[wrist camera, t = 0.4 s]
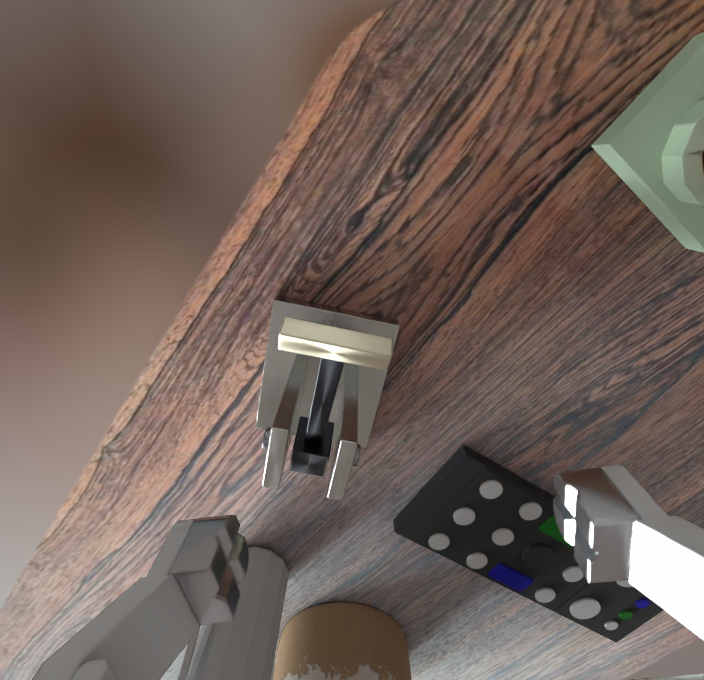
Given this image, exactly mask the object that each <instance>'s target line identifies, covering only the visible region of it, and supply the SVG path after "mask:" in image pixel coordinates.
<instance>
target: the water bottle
mask: <svg viewBox="0 0 704 680" xmlns="http://www.w3.org/2000/svg"><path fill="white" fill-rule="evenodd" d="M248 550H249V563H248V569H247V573H246V577H245V578H244V579H243V580H242V581H241V582H240V584H239V585H238V588H239V591H240V593H241V595H240V598H239V602H238V605H237V609H236V613H235V616H234V620H233V621H227V622H220V623H213V624H206V625H202V628H201V631H200V634H199V630H200V628H199V629H198V631H197V632H196V633H195V634H194V636H193V637H192V638H191V640H190V641H189V643H188V646H187V650H186V653H185V657H184V660H183V664H182V668H181V671H180V675H179V678H178V680H270V679H271V674H272V668H273V662H274V656H275V651H276V645H277V639H278V633H279V628H280V622H281V616H282V611H283V605H284V599H285V593H286V588H287V582H288V576H289V573H288V571H287V568H286V566H285V563H284V561H283V559H282V558H281V557H279V556H278V555H277V554H275V553H274V552H273V551H271V550H268V549H264V548H260V547H255V546H254V547H249V548H248ZM199 626H201V625H199ZM198 634H199V637H198ZM197 637H198V640H197ZM196 641H197V642H196Z"/></svg>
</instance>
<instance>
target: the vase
mask: <svg viewBox="0 0 704 680" xmlns="http://www.w3.org/2000/svg"><path fill="white" fill-rule="evenodd" d="M273 680H411V672H410V662H409V653H408V645H407V640H406V636H405V634H404V632H403V630H402V628H401V627H400V625H399V624H398V623H397V622H396V621H395V620H394V619H393V618H391V617H390V616H389V615H387V614H386V613H384V612H382V611H380V610H378V609H375V608H373V607H370V606H366V605H362V604H357V603H349V602H334V603H326V604H321V605H317V606H313V607H311V608H308V609H306V610H304V611H302V612H300V613H298V614H297V615H296V616H294V617H293V618H292V619H291V620H290V621H289V622H288V623H287V625H286V626H285V628H284V630H283V632H282V635H281V638H280V642H279V647H278V653H277V658H276V664H275V670H274V676H273Z"/></svg>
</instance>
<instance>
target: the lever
mask: <svg viewBox="0 0 704 680" xmlns="http://www.w3.org/2000/svg"><path fill="white" fill-rule="evenodd" d="M278 349H279V350H284V351H289V352H294V353H299V354H304V355H309V356H314V357H319V358H320V363H319V368H318V373H317V378H316V383H315V388H314V393H313V398H312V404H311V409H310V414H309V418H308V417H303V416H300V419H299V423H298V428H297V433H296V437H295V442H294V446H293V451H292V457H291V463H290V471H296V472H301V473H307V474H313V475H318V476H324V473H325V470H326V466H327V463H328V460H329V457H330V450H331V444H332V437H333V431H334V422H329V417H330V414H331V410H332V406H333V403H334V399H335V395H336V392H337V388H338V384H339V380H340V377H341V373H342V369H343V366H344V362H345V363H350V364H355V365H360V366H365V367H370V368H375V369H380V370H387V368H388V366H389V363H390V361H391V358H392V352H393V339H392V338H387V337H382V336H377V335H372V334H368V333H363V332H358V331H353V330H348V329H343V328H338V327H333V326H328V325H323V324H318V323H313V322H309V321H304V320H299V319H294V318H289V317H284V319H283V322H282V325H281V328H280V332H279V339H278Z"/></svg>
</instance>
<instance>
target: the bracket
mask: <svg viewBox="0 0 704 680" xmlns="http://www.w3.org/2000/svg"><path fill="white" fill-rule="evenodd" d="M284 317H289V318H294V319H299V320H304V321H309V322H313V323H318V324H323V325H328V326H333V327H338V328H343V329H348V330H353V331H358V332H363V333H368V334H372V335H377V336H382V337H387V338H392V339H393V350H394V346H395V342H396V339H397V335H398V331H399V328H400V324H399V321H397V320H393V319H388V318H383V317H378V316H373V315H368V314H364V313H359V312H354V311H349V310H344V309H339V308H334V307H330V306H325V305H320V304H315V303H310V302H305V301H301V300H296V299H291V298H286V297H281V296H276V297H275V298H274V300H273V306H272V313H271V321H270V328H269V335H268V342H267V349H266V356H265V363H264V370H263V377H262V384H261V391H260V398H259V405H258V412H257V419H256V426H255V428H259V429H264V430H266V431H265V434H264V439H263V444H262V449H263V450H268V453H267V459H266V465H265V471H264V478H263V484H262V486H263V487H268V488H274V489H278V488H279V485H280V481H281V477H282V473H283V469H284V465H285V461H286V457H287V453H288V449H289V445H290V441H291V438H292V435H296V433H297V428H298V423H299V419H300V416H303V417H308V418H309V414H310V409H311V404H312V398H313V393H314V388H315V383H316V378H317V373H318V368H319V363H320V358H319V357H314V356H309V355H304V354H299V353H294V352H289V351H284V350H279V349H278V339H279V332H280V328H281V325H282V322H283V319H284ZM392 353H393V352H392ZM389 364H390V363H389ZM388 368H389V366H388ZM388 368H387V370H380V369H375V368H370V367H365V366H360V365H355V364H350V363H345V362H344V366H343V369H342V373H341V377H340V380H339V384H338V388H337V392H336V395H335V399H334V403H333V406H332V410H331V414H330V417H329V422H334V431H333V437H332V442H333V443H332V453H331V463H330V473H329V483H328V493H327V498H332V499H337V500H343V498H344V494H345V490H346V486H347V482H348V479H349V475H350V471H351V467H352V466H357V465H358V462H359V457H360V450H361V447H362V448H367V444H368V440H369V437H370V433H371V429H372V426H373V422H374V419H375V415H376V411H377V408H378V404H379V400H380V397H381V393H382V389H383V386H384V382H385V379H386V375H387V371H388Z"/></svg>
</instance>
